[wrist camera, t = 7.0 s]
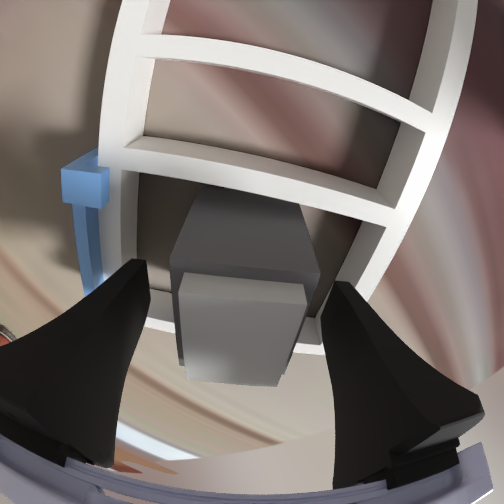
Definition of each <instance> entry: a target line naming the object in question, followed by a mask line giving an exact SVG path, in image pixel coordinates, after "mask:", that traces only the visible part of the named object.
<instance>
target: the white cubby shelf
mask: <svg viewBox="0 0 504 504" xmlns="http://www.w3.org/2000/svg"><path fill="white" fill-rule="evenodd" d="M169 4H170V0H123V1H122V4H121V8H120V11H119V15H118V19H117V23H116V27H115V31H114V35H113V40H112V44H111V49H110V54H109V60H108V65H107V71H106V77H105V84H104V91H103V99H102V108H101V119H100V131H99V147H97V148H95V149H93V150H91V151H90V152H88V153H86V154H84V155H83V156H81V157H79V158H78V159H76V160H74V161H73V162H71V163H69V164H68V165H66V166H64V167H63V168H61V185H62V200H63V202H64V203H69V204H72V210H73V221H74V231H75V239H76V247H77V254H78V260H79V267H80V272H81V278H82V283H83V288H84V293H85V297H86V296H87V295H88V294H90V293H91V292H92V291H93V290H95V289H96V288H97V287H98V286H99V285H101V284H102V283H103V282H104V281H105V280H106V279H108V278H109V277H110V276H111V275H112V274H114V273H115V272H116V271H117V270H118V269H119V268H120V267H122V266H123V265H124V264H125V263H126V262H128V261H129V260H130V259H131V258H133V259H137V207H138V187H139V173H140V172H143V173H149V174H156V175H162V176H168V177H173V178H179V179H185V180H190V181H196V182H201V183H206V184H212V185H217V186H222V187H227V188H232V189H236V190H241V191H246V192H251V193H255V194H260V195H264V196H269V197H273V198H277V199H282V200H286V201H290V202H294V203H299V204H303V205H307V206H311V207H315V208H319V209H323V210H327V211H330V212H334V213H338V214H342V215H345V216H349V217H353V218H356V219H360V220H363V222H362V224H361V226H360V228H359V231H358V233H357V235H356V237H355V239H354V242H353V244H352V246H351V248H350V250H349V252H348V254H347V256H346V258H345V261H344V263H343V265H342V267H341V269H340V271H339V273H338V275H337V277H336V279H335V280H336V281H347V282H350V283H351V284H352V285H353V287H354V288H355V289H356V290H357V291H358V292H359V293H360V295H361V296H362V297H363V298H364V299H365V300H366V302H367V301H368V299H369V298H370V296H371V294H372V293H373V291H374V289H375V288H376V286H377V284H378V283H379V281H380V279H381V278H382V276H383V274H384V272H385V271H386V269H387V267H388V265H389V263H390V262H391V260H392V258H393V256H394V254H395V252H396V251H397V249H398V247H399V245H400V243H401V241H402V239H403V237H404V235H405V233H406V231H407V229H408V227H409V225H410V223H411V221H412V219H413V217H414V215H415V213H416V211H417V209H418V206H419V204H420V202H421V200H422V198H423V195H424V193H425V191H426V189H427V186H428V184H429V182H430V179H431V177H432V174H433V172H434V170H435V167H436V165H437V162H438V159H439V157H440V154H441V152H442V149H443V146H444V143H445V141H446V138H447V135H448V132H449V129H450V126H451V123H452V120H453V117H454V114H455V110H456V107H457V104H458V100H459V97H460V93H461V90H462V86H463V82H464V78H465V74H466V70H467V65H468V61H469V56H470V51H471V46H472V41H473V35H474V28H475V21H476V14H477V5H478V0H433V2H432V8H431V13H430V18H429V23H428V28H427V32H426V37H425V41H424V45H423V50H422V54H421V57H420V61H419V65H418V69H417V72H416V76H415V80H414V83H413V87H412V90H411V93H410V97H409V100H407V99H405V98H403V97H401V96H399V95H397V94H395V93H393V92H391V91H388V90H386V89H384V88H382V87H380V86H378V85H375V84H373V83H371V82H368V81H366V80H364V79H361V78H359V77H356V76H354V75H351V74H348V73H346V72H343V71H340V70H338V69H335V68H332V67H329V66H326V65H323V64H320V63H317V62H314V61H311V60H307V59H304V58H301V57H297V56H294V55H290V54H286V53H282V52H278V51H274V50H270V49H266V48H261V47H256V46H252V45H246V44H241V43H235V42H229V41H223V40H216V39H208V38H200V37H190V36H177V35H161V33H162V29H163V25H164V22H165V18H166V14H167V11H168V7H169ZM155 60H169V61H181V62H190V63H199V64H206V65H213V66H220V67H226V68H231V69H237V70H242V71H247V72H252V73H257V74H261V75H266V76H270V77H274V78H278V79H282V80H286V81H289V82H293V83H297V84H300V85H304V86H307V87H310V88H314V89H317V90H320V91H323V92H326V93H329V94H332V95H335V96H338V97H341V98H343V99H346V100H349V101H351V102H354V103H357V104H359V105H362V106H364V107H367V108H369V109H372V110H374V111H376V112H379V113H381V114H383V115H386V116H388V117H390V118H392V119H395V120H397V121H399V122H401V124H400V127H399V130H398V133H397V136H396V139H395V142H394V145H393V147H392V150H391V153H390V155H389V158H388V161H387V163H386V166H385V169H384V171H383V174H382V176H381V179H380V181H379V184H378V186H377V189H374V188H371V187H368V186H365V185H362V184H359V183H356V182H353V181H350V180H346V179H343V178H340V177H337V176H333V175H330V174H326V173H323V172H319V171H316V170H312V169H309V168H305V167H301V166H297V165H294V164H290V163H286V162H282V161H278V160H274V159H269V158H265V157H261V156H256V155H252V154H247V153H243V152H238V151H233V150H228V149H223V148H218V147H213V146H207V145H202V144H196V143H190V142H184V141H177V140H171V139H164V138H156V137H149V136H143V132H144V124H145V117H146V110H147V103H148V97H149V91H150V85H151V80H152V74H153V69H154V64H155ZM332 286H333V285H332ZM331 289H332V287H331ZM331 289H330V291H331ZM330 291H329V292H328V294H327V296H326V298H325V300H324V302H323V304H322V306H321V308H320V310H319V311H318V313H317V315H316V317H315V318H311V317H306V319H305V321H304V324H303V327H302V330H301V332H300V335H299V338H298V340H297V343H296V346H295V348H294V351H293V352H297V353H307V354H318V355H325V351H324V346H323V341H322V333H321V321H320V316H321V314H322V311H323V309H324V306H325V304H326V301H327V299H328V296H329V294H330ZM150 295H151V302H150V306H149V310H148V314H147V318H146V322H145V325H144V327H149V328H153V329H157V330H162V331H166V332H171V333H175V324H174V315H173V304H172V293H168V292H164V291H159V290H154V289H150Z"/></svg>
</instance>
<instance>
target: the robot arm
mask: <svg viewBox="0 0 504 504" xmlns="http://www.w3.org/2000/svg"><path fill="white" fill-rule="evenodd" d="M150 302H151V295H150V288H149V280H148V272H147V263H146V260H141V259H133V258H131V259H130V260H129V261H128V262H126V263H125V264H124V265H123V266H122V267H120V268H119V269H118V270H117V271H116V272H115V273H114V274H112V275H111V276H110V277H109V278H108V279H106V280H105V281H104V282H103V283H102V284H101V285H99V286H98V287H97V288H96V289H95V290H93V291H92V292H91V293H90V294H88V295H87V296H86V297H84V298H83V299H82V300H81V301H79V302H78V303H77V304H76V305H74V306H73V307H71V308H70V309H69V310H67V311H66V312H64V313H63V314H61V315H60V316H58V317H57V318H55V319H54V320H52V321H50V322H49V323H47V324H45V325H43V326H42V327H40V328H38V329H36V330H35V331H33V332H31V333H29V334H27V335H25V336H23V337H21V338H19V339H17V340H14V341H12V342H10V343H7V344H5V345H2V346H0V492H1V493H2V494H3V495H4V496H5V497H7V498H8V499H9V500H11V501H12V502H13V503H15V504H132V503H129V502H125V501H122V500H118V499H115V498H112V497H109V496H106V495H105V493H104V491H103V490H102V489H101V488H103V489H106V490H109V491H112V492H116V493H119V494H122V495H126V496H129V497H133V498H137V499H141V500H145V501H149V502H154V503H159V504H474V503H475V502H477V501H478V500H480V499H481V498H483V497H484V496H486V495H487V494H489V493H490V492H492V491H493V484H492V480H491V476H490V472H489V467H488V464H487V460H486V456H485V452H484V449H483V445H482V443H481V442H479V443H477V444H475V445H473V446H471V447H468V448H466V449H464V450H463V451H460V452H458V453H457V451H456V447H458V446H459V445H460V443H459V439H458V437H460V436H461V435H463V434H464V433H465V432H466V431H468V430H470V429H471V428H472V427H473V426H475V425H476V424H477V423H479V422H480V421H481V420H482V419H483V417H484V415H485V413H484V410H483V407H482V404H481V401H480V399H479V396H478V395H477V394H474V393H473V392H471V391H469V390H467V389H466V388H464V387H462V386H460V385H458V384H457V383H455V382H453V381H452V380H450V379H449V378H447V377H446V376H444V375H443V374H441V373H440V372H439V371H437V370H436V369H434V368H433V367H432V366H431V365H429V364H428V363H427V362H425V361H424V360H423V359H422V358H421V357H419V356H418V355H417V354H416V353H415V352H414V351H413V350H411V349H410V348H409V347H408V346H407V345H406V344H405V343H404V342H403V341H402V340H401V339H400V338H399V337H398V336H397V335H396V334H395V333H394V332H393V331H392V330H391V329H390V328H389V327H388V326H387V324H386V323H385V322H384V321H383V320H382V319H381V318H380V317H379V316H378V314H377V313H376V312H375V311H374V310H373V309H372V307H371V306H370V305H369V304H368V303H367V302H366V300H365V299H364V298H363V297H362V296H361V295H360V293H359V292H358V291H357V290H356V289H355V288H354V287H353V285H352V284H351V283H350V282H347V281H336V280H335V281H334V283H333V286H332V289H331V291H330V294H329V296H328V299H327V301H326V304H325V306H324V309H323V311H322V314H321V316H320V321H321V333H322V341H323V346H324V351H325V356H326V360H327V365H328V369H329V374H330V379H331V384H332V390H333V397H334V410H335V435H336V436H335V438H336V439H335V464H334V477H333V490H327V491H319V492H309V493H297V494H276V495H247V494H246V495H245V494H226V493H213V492H203V491H195V490H188V489H181V488H175V487H169V486H164V485H159V484H154V483H149V482H145V481H141V480H137V479H133V478H128V477H125V476H122V475H118V474H115V473H111V472H108V471H105V470H102V469H99V468H96V467H93V466H90V465H88V464H86V463H89V464H92V465H98V466H101V467H104V468H109V467H111V466H112V465H114V452H115V437H116V428H117V420H118V413H119V407H120V402H121V396H122V391H123V387H124V382H125V377H126V374H127V371H128V367H129V365H130V362H131V359H132V356H133V354H134V351H135V348H136V346H137V343H138V340H139V338H140V335H141V332H142V330H143V327H144V325H145V322H146V318H147V314H148V310H149V306H150Z"/></svg>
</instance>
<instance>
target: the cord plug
mask: <svg viewBox="0 0 504 504" xmlns="http://www.w3.org/2000/svg"><path fill="white" fill-rule="evenodd" d="M169 264H170V279H171V292H172V304H173V315H174V324H175V334H176V342H177V350H178V358H179V365H181V366H185V373H186V379H190V380H197V381H206V382H215V383H225V384H236V385H250V386H270V387H277V385H278V382H279V380H280V377H281V375H282V374H283V375H284V373H285V371H286V368H287V366H288V363H289V361H290V358H291V356H292V353H293V351H294V348H295V346H296V343H297V340H298V338H299V335H300V332H301V330H302V327H303V324H304V321H305V319H306V316H307V313H308V310H309V308H310V305H311V302H312V299H313V296H314V293H315V290H316V287H317V284H318V281H319V278H320V275H321V272H320V269H319V266H318V262H317V259H316V256H315V252H314V249H313V246H312V243H311V239H310V236H309V233H308V230H307V227H306V224H305V221H304V217H303V214H302V211H301V208H300V205H299V203H294V202H290V201H286V200H282V199H277V198H273V197H269V196H264V195H260V194H255V193H251V192H246V191H241V190H236V189H227V188H217V187H206V186H201V187H200V189H199V191H198V193H197V195H196V198H195V200H194V202H193V204H192V206H191V209H190V211H189V213H188V215H187V218H186V220H185V222H184V224H183V227H182V229H181V231H180V234H179V236H178V238H177V241H176V243H175V246H174V248H173V250H172V253H171V255H170V258H169Z"/></svg>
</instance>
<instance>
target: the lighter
mask: <svg viewBox="0 0 504 504" xmlns="http://www.w3.org/2000/svg"><path fill="white" fill-rule="evenodd" d="M17 339H18V338H17V337H16V336H15V334H14V333H13V332H12V331H10V330H9V329H8V328H6V327H5V326H3V325H1V326H0V346H2V345H5V344H7V343H10V342H12V341H14V340H17Z"/></svg>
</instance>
